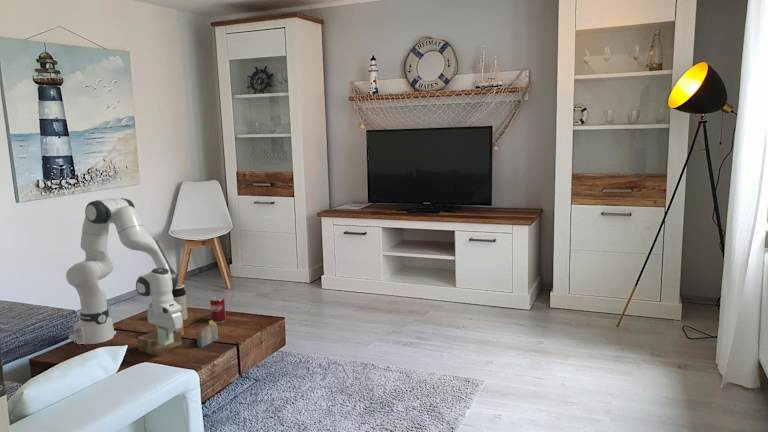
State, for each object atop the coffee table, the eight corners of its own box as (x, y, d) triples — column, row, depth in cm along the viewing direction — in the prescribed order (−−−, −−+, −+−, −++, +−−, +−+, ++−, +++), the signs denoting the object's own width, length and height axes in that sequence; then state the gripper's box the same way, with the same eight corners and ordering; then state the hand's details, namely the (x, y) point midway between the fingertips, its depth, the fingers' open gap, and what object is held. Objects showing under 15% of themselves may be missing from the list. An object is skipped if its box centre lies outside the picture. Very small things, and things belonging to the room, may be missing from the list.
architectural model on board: (212, 338, 278) (211, 319, 277) (218, 339, 277) (216, 320, 276) (196, 347, 268) (195, 327, 267) (201, 348, 267) (200, 327, 266)
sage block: (158, 343, 257) (157, 328, 256) (167, 340, 261) (166, 325, 259) (164, 345, 254) (163, 329, 253) (173, 342, 258) (172, 326, 257)
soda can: (221, 323, 298) (219, 301, 297) (208, 322, 300) (207, 300, 299) (228, 319, 305) (227, 296, 303) (216, 318, 307) (214, 296, 306)
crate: (138, 350, 265) (137, 337, 264) (167, 339, 278) (166, 327, 277) (153, 354, 259) (152, 341, 258) (181, 344, 272) (180, 331, 271)
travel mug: (190, 317, 310) (188, 284, 307) (182, 322, 302) (179, 288, 299) (177, 316, 311) (174, 283, 309) (168, 321, 304) (165, 287, 301)
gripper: (142, 303, 258) (145, 333, 260) (171, 311, 247) (173, 342, 249) (155, 300, 263) (157, 329, 265) (184, 307, 252) (186, 337, 254)
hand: (165, 335), depth 257 cm, fingers closed on sage block, 4 cm apart
